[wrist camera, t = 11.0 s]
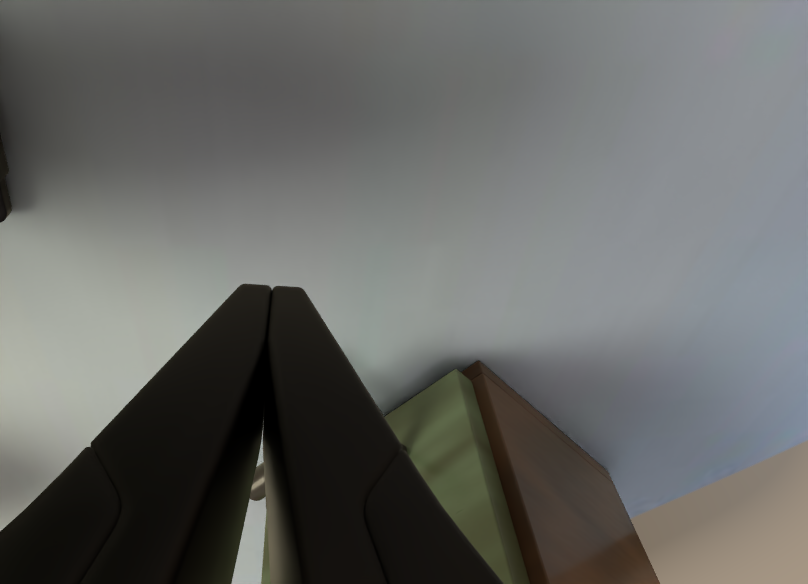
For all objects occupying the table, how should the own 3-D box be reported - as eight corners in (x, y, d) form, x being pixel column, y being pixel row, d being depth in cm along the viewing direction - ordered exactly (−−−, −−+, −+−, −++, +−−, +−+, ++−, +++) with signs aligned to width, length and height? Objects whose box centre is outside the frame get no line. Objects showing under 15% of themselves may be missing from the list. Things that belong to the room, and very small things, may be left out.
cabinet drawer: (203, 463, 27) (160, 711, 19) (398, 320, 23) (439, 558, 16) (414, 567, 35) (442, 772, 27) (585, 473, 31) (673, 680, 24)
